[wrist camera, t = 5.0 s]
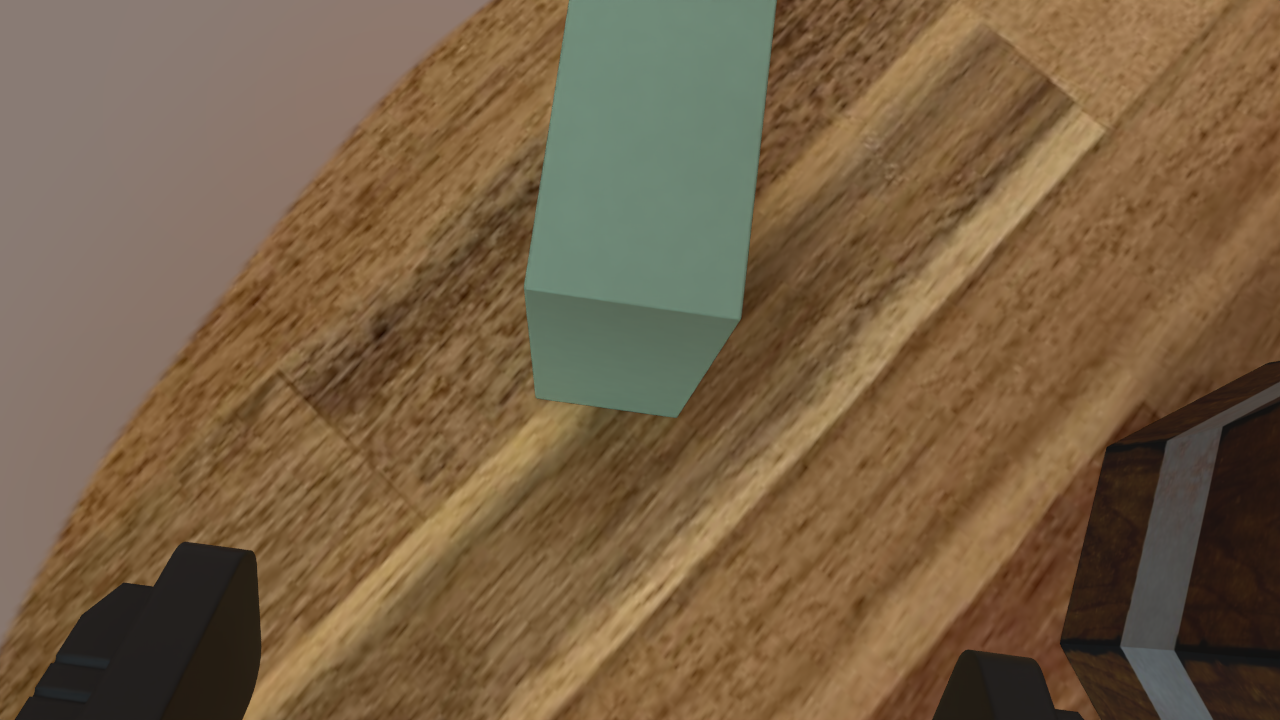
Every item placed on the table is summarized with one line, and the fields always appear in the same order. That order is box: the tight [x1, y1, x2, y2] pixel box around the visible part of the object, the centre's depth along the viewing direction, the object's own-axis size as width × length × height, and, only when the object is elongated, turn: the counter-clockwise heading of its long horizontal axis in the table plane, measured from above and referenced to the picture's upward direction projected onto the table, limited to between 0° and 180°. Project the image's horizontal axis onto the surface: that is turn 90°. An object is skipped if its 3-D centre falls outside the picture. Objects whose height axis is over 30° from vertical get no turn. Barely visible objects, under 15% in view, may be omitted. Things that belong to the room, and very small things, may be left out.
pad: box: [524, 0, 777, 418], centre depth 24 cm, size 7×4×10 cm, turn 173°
